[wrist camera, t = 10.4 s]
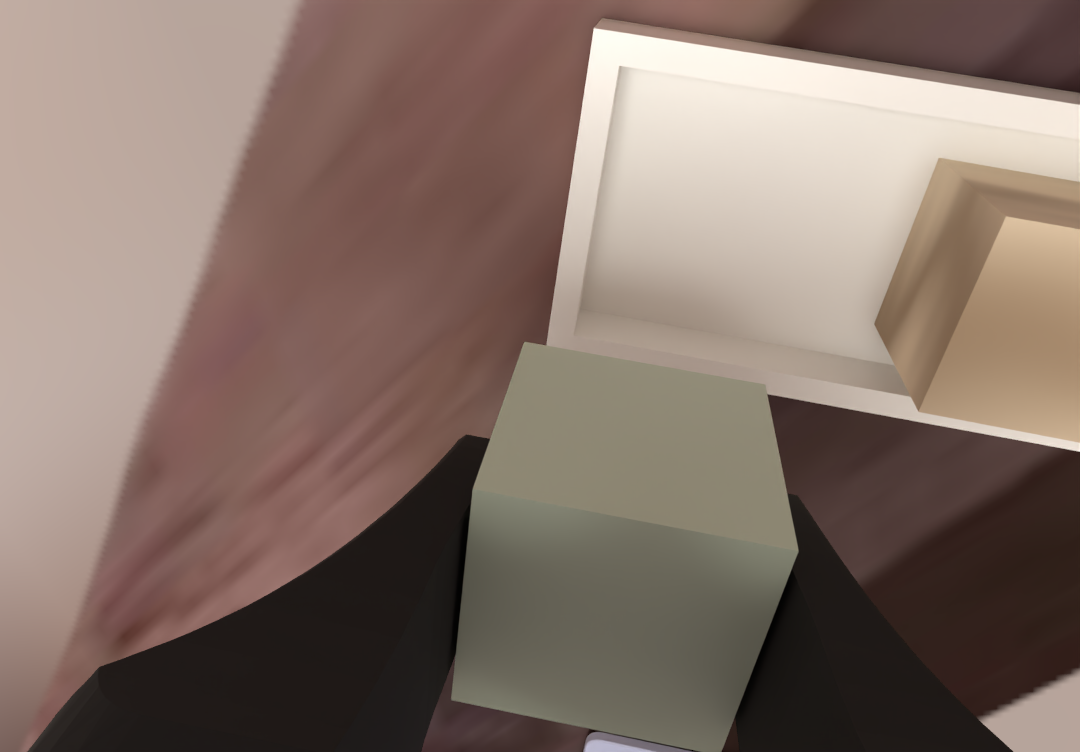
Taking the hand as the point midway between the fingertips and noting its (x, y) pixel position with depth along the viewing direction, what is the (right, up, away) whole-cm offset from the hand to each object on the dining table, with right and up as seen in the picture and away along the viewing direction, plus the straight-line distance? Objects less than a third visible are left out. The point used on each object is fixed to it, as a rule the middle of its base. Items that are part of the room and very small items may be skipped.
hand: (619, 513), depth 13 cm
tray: (+6, +6, +6) cm, 10 cm away
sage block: (0, +1, +1) cm, 2 cm away
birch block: (+9, +5, +5) cm, 11 cm away
